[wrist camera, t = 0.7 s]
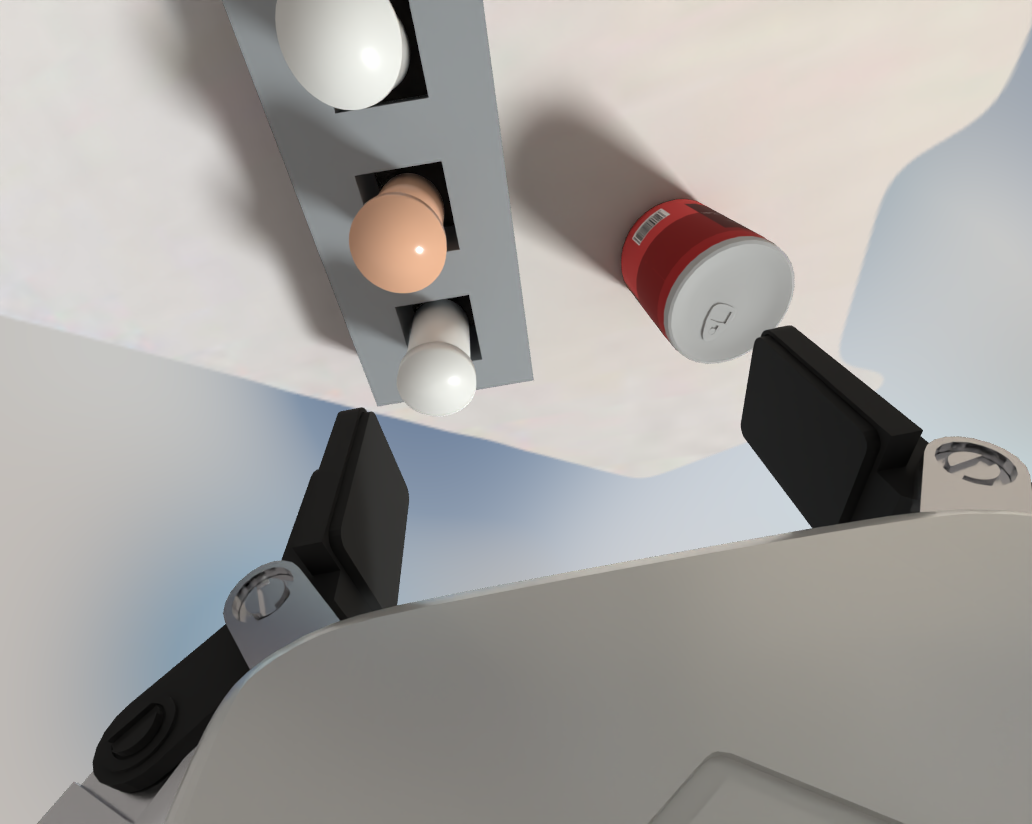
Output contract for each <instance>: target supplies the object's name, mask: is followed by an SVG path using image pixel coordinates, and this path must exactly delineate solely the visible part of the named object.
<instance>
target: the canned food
mask: <svg viewBox="0 0 1032 824" xmlns="http://www.w3.org/2000/svg"><path fill="white" fill-rule="evenodd" d="M621 267H622V274H623V278H624V281H625V283H626V285H627V287H628V288H629V290H630V291H631V292H632V294H633V295H634V296H635V298H636V299H637V300H638V302H639V303H640V304H641V306H642V307H643V308H644V310H645V311H646V312H647V314H648V315H649V316H650V318H651V319H652V320H653V322H654V323H655V324H656V325H657V327H658V328H659V329H660V331H661V332H662V333H663V335H664V336H665V337H666V338H667V340H668V341H669V342H670V343H671V344H672V346H673V347H674V348H675V349H676V350H677V351H678V352H680V354H682V355H683V356H685V357H686V358H688V359H690V360H692V361H695V362H699V363H706V364H712V363H721V362H726V361H730V360H733V359H735V358H738V357H740V356H742V355H744V354H746V353H748V352H749V351H751V350H753V346H754V342H755V340H756V338H758V337H761V334H762V333H763V331H765V330H768V329H773V328H776V327H777V326H778V325H779V323H780V322H781V321H782V319H783V317H784V315H785V314H786V312H787V310H788V308H789V305H790V302H791V300H792V296H793V291H794V272H793V268H792V264H791V262H790V260H789V259H788V257H787V255H786V254H785V253H784V252H783V251H782V250H781V249H780V248H779V247H777V246H776V245H775V244H774V243H772V242H771V241H769V240H767V239H766V238H764V237H762V236H761V235H759V234H757V233H755V232H753V231H751V230H750V229H748V228H746V227H744V226H742V225H740V224H738V223H737V222H735V221H733V220H731V219H729V218H727V217H725V216H724V215H722V214H720V213H718V212H716V211H714V210H712V209H711V208H709V207H707V206H705V205H703V204H701V203H699V202H697V201H694V200H689V199H676V200H672V201H668V202H664V203H661V204H659V205H657V206H655V207H653V208H651V209H650V210H649V211H647V212H646V213H644V214H643V215H642V216H641V217H640V218H639V219H638V220H637V222H636V223H635V224H634V226H633V227H632V228H631V230H630V232H629V234H628V235H627V237H626V240H625V243H624V246H623V250H622V257H621Z"/></svg>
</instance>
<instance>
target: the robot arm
mask: <svg viewBox="0 0 1032 824" xmlns="http://www.w3.org/2000/svg"><path fill="white" fill-rule="evenodd" d="M741 430H742V434H743V436H744V438H745V439H746V441H747V442H748V443H749V445H750V446H751V447H752V449H753V450H754V451H755V452H756V454H757V455H758V457H759V458H760V459H761V461H762V462H763V463H764V464H765V466H766V467H767V469H768V470H769V471H770V473H771V474H772V475H773V476H774V478H775V479H776V480H777V482H778V483H779V484H780V486H781V487H782V488H783V490H784V491H785V492H786V494H787V495H788V496H789V498H790V499H791V500H792V502H793V503H794V504H795V506H796V507H797V508H798V510H799V511H800V512H801V514H802V515H803V516H804V518H805V519H806V520H807V522H808V523H809V524H810V526H811V527H812V529H806V530H801V531H795V532H789V533H784V534H778V535H772V536H766V537H761V538H755V539H750V540H744V541H738V542H733V543H727V544H721V545H716V546H710V547H704V548H699V549H693V550H688V551H682V552H677V553H671V554H666V555H661V556H655V557H649V558H644V559H638V560H633V561H627V562H622V563H616V564H611V565H605V566H600V567H595V568H589V569H584V570H578V571H573V572H567V573H562V574H557V575H551V576H546V577H541V578H535V579H530V580H525V581H519V582H514V583H509V584H503V585H498V586H493V587H487V588H482V589H477V590H472V591H466V592H462V593H456V594H452V595H446V596H441V597H437V598H432V599H427V600H422V601H417V602H412V603H407V604H402V605H397V601H398V592H399V584H400V574H401V566H402V565H401V564H402V557H403V548H404V540H405V531H406V522H407V514H408V505H409V493H408V489H407V486H406V484H405V481H404V479H403V477H402V475H401V472H400V470H399V467H398V465H397V463H396V461H395V458H394V456H393V454H392V452H391V449H390V447H389V445H388V442H387V440H386V438H385V436H384V433H383V431H382V429H381V427H380V424H379V422H378V420H377V417H376V415H375V414H374V412H367V411H366V410H365V409H364V408H362V407H361V408H356V409H351V410H346V411H341V412H339V413H338V415H337V418H336V421H335V424H334V426H333V430H332V432H331V435H330V438H329V441H328V444H327V447H326V450H325V453H324V456H323V458H322V461H321V465H320V467H319V469H318V470H316V471H315V472H314V473H313V474H312V476H311V479H310V481H309V484H308V487H307V490H306V493H305V495H304V498H303V501H302V504H301V507H300V510H299V512H298V515H297V518H296V521H295V524H294V526H293V529H292V532H291V535H290V538H289V540H288V543H287V546H286V549H285V552H284V554H283V557H282V560H281V561H274V562H270V563H267V564H265V565H262V566H260V567H258V568H257V569H255V570H253V571H252V572H250V573H249V574H247V576H245V577H244V578H243V579H242V580H240V581H239V583H238V584H237V585H236V586H235V587H234V589H233V590H232V591H231V593H230V595H229V596H228V599H227V600H226V603H225V607H224V612H223V615H224V619H225V623H226V624H225V625H224V626H223V627H222V628H221V629H219V630H218V631H217V632H216V633H215V634H213V635H212V636H211V637H210V638H209V639H207V640H206V641H205V642H204V643H203V644H201V645H200V646H199V647H198V648H197V649H195V650H194V651H193V652H192V653H190V654H189V655H188V656H187V657H186V658H184V659H183V660H182V661H181V662H180V663H178V664H177V665H176V666H175V667H174V668H172V669H171V670H170V671H169V672H168V673H166V674H165V675H164V676H163V677H162V678H160V679H159V680H158V681H157V682H156V683H154V684H153V685H152V686H151V687H150V688H148V689H147V690H146V691H145V692H143V693H142V694H141V695H140V696H139V697H137V698H136V699H135V700H134V701H133V702H131V703H130V704H129V705H128V706H127V707H126V708H125V709H124V710H123V711H122V712H121V713H120V714H119V715H118V716H117V717H116V718H115V719H114V720H113V722H112V723H111V725H110V726H109V727H108V728H107V730H106V731H105V732H104V734H103V737H102V738H101V740H100V742H99V744H98V746H97V748H96V752H95V756H94V759H93V772H92V773H91V774H90V775H89V777H88V778H87V779H86V780H85V781H84V782H83V783H82V785H80V784H78V783H76V782H73V783H72V784H71V786H70V787H69V788H68V789H67V790H66V791H65V792H64V794H63V795H62V796H61V797H60V798H59V799H58V800H57V802H56V803H55V804H54V805H53V806H52V807H51V808H50V809H49V811H48V812H47V813H46V814H45V815H44V816H43V817H42V819H41V820H40V821H39V822H38V823H37V824H1032V482H1031V479H1030V474H1029V472H1028V469H1027V467H1026V466H1025V465H1024V464H1023V463H1022V462H1021V461H1020V460H1019V459H1018V458H1017V457H1016V456H1014V455H1013V454H1011V453H1010V452H1008V451H1006V450H1005V449H1003V448H1000V447H998V446H996V445H994V444H991V443H988V442H985V441H981V440H977V439H974V438H966V437H943V438H939V439H935V440H933V441H932V442H930V443H928V442H927V441H925V439H923V438H922V437H921V434H922V432H923V430H922V429H921V428H920V427H918V426H917V425H916V424H915V423H913V422H912V421H911V420H909V419H908V418H907V417H906V416H905V415H903V414H902V413H901V412H900V411H898V410H897V409H896V408H895V407H893V406H892V405H891V404H890V403H888V402H887V401H886V400H885V399H883V398H882V397H881V396H880V395H878V394H877V393H876V392H875V391H873V390H872V389H871V388H870V387H868V386H867V385H866V384H865V383H863V382H862V381H861V380H860V379H858V378H857V377H856V376H855V375H853V374H852V373H851V372H850V371H848V370H847V369H846V368H845V367H843V366H842V365H841V364H840V363H838V362H837V361H836V360H835V359H833V358H832V357H831V356H830V355H828V354H827V353H826V352H825V351H823V350H822V349H821V348H820V347H818V346H817V345H816V344H815V343H813V342H812V341H811V340H810V339H808V338H807V337H806V336H805V335H803V334H802V333H801V332H800V331H798V330H797V329H796V328H795V327H793V326H783V327H778V328H773V329H768V330H765V331H763V333H762V334H761V337H758V338H756V340H755V342H754V346H753V352H752V358H751V365H750V371H749V377H748V383H747V389H746V395H745V401H744V407H743V414H742V420H741Z"/></svg>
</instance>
